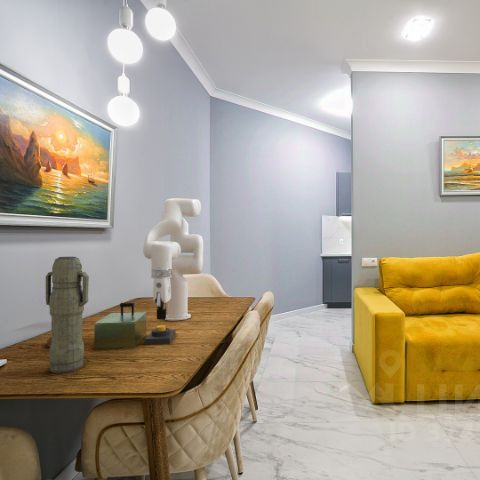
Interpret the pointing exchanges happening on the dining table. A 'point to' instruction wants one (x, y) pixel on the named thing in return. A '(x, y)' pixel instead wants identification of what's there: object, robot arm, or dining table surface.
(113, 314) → the lid
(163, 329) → the button
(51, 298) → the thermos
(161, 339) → the control box
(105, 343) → the green box
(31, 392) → the dining table surface
